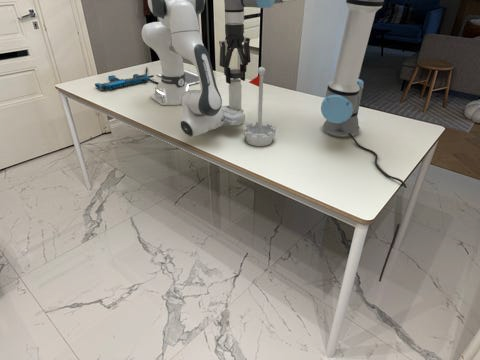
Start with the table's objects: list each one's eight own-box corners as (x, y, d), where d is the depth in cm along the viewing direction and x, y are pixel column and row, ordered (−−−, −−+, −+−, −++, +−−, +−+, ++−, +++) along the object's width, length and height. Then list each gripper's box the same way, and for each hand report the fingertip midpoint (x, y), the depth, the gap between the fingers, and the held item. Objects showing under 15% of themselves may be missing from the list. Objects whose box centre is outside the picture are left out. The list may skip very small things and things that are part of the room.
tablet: (156, 75, 222) (156, 74, 221) (183, 69, 233) (183, 69, 233) (183, 86, 201) (183, 86, 201) (210, 80, 212) (210, 79, 212)
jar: (233, 119, 160) (232, 77, 149) (243, 122, 158) (243, 79, 147) (227, 124, 156) (226, 81, 145) (237, 126, 154) (237, 83, 143)
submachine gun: (139, 68, 225) (158, 74, 208) (140, 74, 226) (158, 80, 210) (87, 78, 206) (103, 86, 189) (89, 84, 208) (104, 92, 191)
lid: (231, 79, 141) (231, 74, 140) (225, 75, 147) (225, 70, 145) (245, 77, 144) (245, 72, 142) (239, 73, 149) (239, 68, 148)
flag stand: (266, 131, 149) (269, 61, 133) (280, 143, 139) (285, 69, 122) (239, 136, 145) (238, 64, 129) (250, 149, 135) (252, 73, 118)
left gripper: (231, 117, 138) (253, 107, 146) (198, 104, 149) (220, 97, 158) (231, 131, 141) (253, 121, 150) (199, 118, 153) (221, 109, 161)
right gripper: (249, 20, 141) (249, 75, 153) (208, 24, 132) (211, 83, 144) (260, 22, 136) (259, 79, 148) (217, 27, 127) (220, 87, 139)
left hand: (236, 108), depth 154 cm, fingers closed on jar, 5 cm apart
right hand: (235, 81), depth 146 cm, fingers closed on lid, 7 cm apart
